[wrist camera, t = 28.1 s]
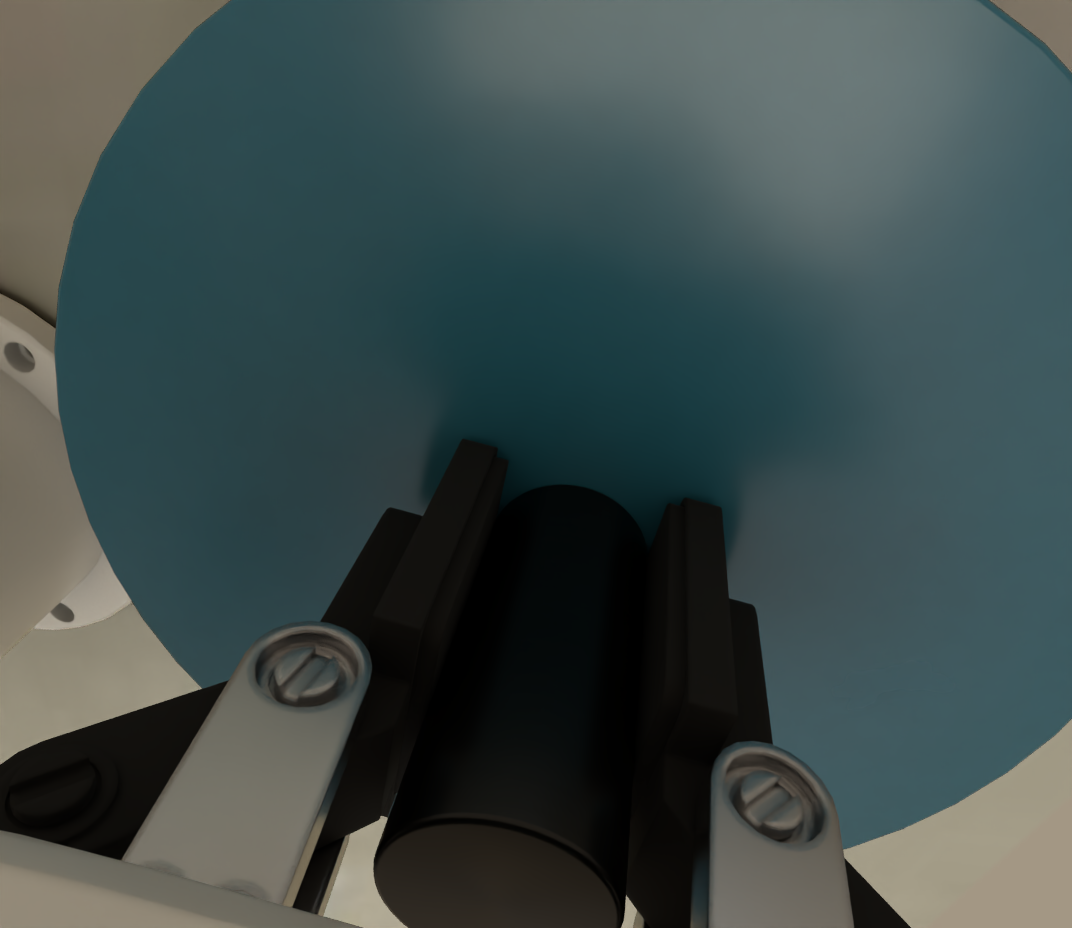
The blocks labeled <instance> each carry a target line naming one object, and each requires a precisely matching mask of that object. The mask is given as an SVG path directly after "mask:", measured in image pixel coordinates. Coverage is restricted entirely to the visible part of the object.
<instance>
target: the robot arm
mask: <svg viewBox="0 0 1072 928" xmlns="http://www.w3.org/2000/svg"><path fill="white" fill-rule="evenodd" d="M55 331H56V329H55V328H54V327H52V326H51V325H50V324H48V323H47V322H45V321H44V320H43V319H41V318H40V317H38V316H37V315H36V314H34V313H33V312H31V311H30V310H29V309H27V308H26V307H24V306H23V305H21V304H19V303H17V302H15V301H13V300H12V299H10V298H8V297H6V296H4V295H2V294H0V660H1V659H2V658H3V657H4V656H5V655H6V654H7V653H8V652H9V651H10V650H11V649H12V648H13V647H14V646H15V645H16V644H17V643H18V642H19V641H20V640H21V639H22V638H23V637H24V636H25V635H26V634H27V633H29V632H30V631H31V630H32V629H45V630H61V629H70V628H78V627H85V626H88V625H90V624H93V623H96V622H99V621H102V620H105V619H108V618H109V617H111V616H112V615H114V614H115V613H117V612H118V611H120V610H121V609H123V608H124V607H126V606H127V605H129V604H130V603H131V602H132V601H131V599H130V598H129V596H128V595H127V593H126V591H125V590H124V588H123V587H122V585H121V584H120V582H119V580H118V579H117V577H116V576H115V574H114V572H113V570H112V568H111V566H110V564H109V562H108V560H107V558H106V556H105V554H104V552H103V550H102V548H101V546H100V543H99V541H98V539H97V537H96V535H95V533H94V531H93V529H92V527H91V525H90V523H89V520H88V517H87V514H86V511H85V509H84V506H83V503H82V500H81V497H80V494H79V491H78V488H77V486H76V483H75V480H74V477H73V474H72V471H71V468H70V463H69V458H68V454H67V449H66V444H65V440H64V435H63V430H62V425H61V421H60V416H59V411H58V397H57V384H56V370H55V356H54V345H55ZM497 451H498V448H497V447H493V446H490V445H486V444H482V443H478V442H474V441H471V440H467V439H462V440H461V442H460V444H459V446H458V448H457V450H456V452H455V454H454V456H453V458H452V460H451V461H450V463H449V465H448V467H447V469H446V471H445V473H444V475H443V477H442V479H441V481H440V483H439V485H438V487H437V489H436V491H435V493H434V495H433V497H432V499H431V501H430V503H429V505H428V507H427V509H426V511H425V513H424V515H423V516H421V515H418V514H414V513H410V512H407V511H403V510H399V509H395V508H392V507H390V508H388V509H387V510H386V511H385V512H384V514H383V515H382V517H381V519H380V520H379V522H378V524H377V525H376V527H375V529H374V530H373V532H372V534H371V536H370V537H369V539H368V541H367V542H366V544H365V546H364V548H363V549H362V551H361V553H360V554H359V556H358V558H357V559H356V561H355V563H354V565H353V566H352V568H351V570H350V571H349V573H348V575H347V577H346V578H345V580H344V582H343V583H342V585H341V587H340V588H339V590H338V592H337V594H336V595H335V597H334V599H333V600H332V602H331V604H330V606H329V607H328V609H327V611H326V612H325V614H324V616H323V617H322V619H321V621H320V622H318V621H302V622H292V623H288V624H286V625H283V626H280V627H277V628H274V629H272V630H270V631H269V632H267V633H265V634H264V635H262V636H261V637H259V638H258V639H257V640H256V641H255V642H254V643H253V644H252V645H251V647H250V648H249V649H248V650H247V651H246V652H245V654H244V656H243V657H242V659H241V661H240V662H239V664H238V666H237V667H236V669H235V671H234V672H233V674H232V676H231V677H230V679H229V680H228V681H225V682H222V683H219V684H216V685H213V686H209V687H206V688H203V689H200V690H197V691H194V692H191V693H188V694H185V695H182V696H179V697H176V698H173V699H170V700H167V701H164V702H161V703H158V704H155V705H152V706H149V707H146V708H143V709H139V710H136V711H133V712H130V713H127V714H124V715H121V716H118V717H115V718H112V719H109V720H106V721H103V722H100V723H97V724H94V725H91V726H88V727H85V728H82V729H79V730H76V731H73V732H70V733H66V734H63V735H60V736H57V737H54V738H51V739H48V740H45V741H42V742H40V743H38V744H36V745H33V746H31V747H29V748H26V749H24V750H22V751H20V752H18V753H16V754H15V755H13V756H12V757H11V758H9V759H8V760H6V761H5V762H4V763H2V764H1V765H0V928H362V927H359V926H355V925H352V924H348V923H345V922H341V921H337V920H334V919H330V918H327V917H323V915H324V912H325V909H326V906H327V903H328V901H329V898H330V895H331V892H332V889H333V886H334V883H335V880H336V877H337V874H338V871H339V868H340V866H341V863H342V860H343V857H344V854H345V851H346V848H347V845H348V842H349V836H350V834H351V833H353V832H355V831H357V830H359V829H361V828H363V827H365V826H367V825H369V824H371V823H373V822H375V821H377V820H379V819H380V816H384V817H388V816H389V813H390V811H391V808H392V805H393V802H394V799H395V797H396V794H397V792H398V789H399V787H400V784H401V781H402V778H403V776H404V773H405V770H406V767H407V765H408V762H409V759H410V756H411V753H412V751H413V748H414V745H415V742H416V740H417V737H418V734H419V731H420V728H421V726H422V723H423V720H424V718H425V716H426V714H427V711H428V708H429V706H430V703H431V700H432V697H433V695H434V692H435V689H436V686H437V683H438V681H439V678H440V675H441V672H442V669H443V667H444V664H445V661H446V658H447V656H448V653H449V650H450V647H451V644H452V642H453V639H454V636H455V633H456V631H457V628H458V625H459V622H460V619H461V617H462V614H463V611H464V608H465V606H466V603H467V600H468V597H469V594H470V592H471V589H472V586H473V583H474V581H475V578H476V575H477V572H478V569H479V567H480V564H481V561H482V558H483V555H484V553H485V550H486V547H487V544H488V542H489V539H490V536H491V533H492V530H493V528H494V525H495V522H496V518H497V513H498V509H499V504H500V500H501V495H502V491H503V486H504V482H505V478H506V473H507V468H508V463H509V460H505V459H502V458H498V457H497ZM626 895H627V897H628V898H629V899H630V901H631V902H632V903H633V905H634V906H635V908H636V909H637V913H636V916H635V920H634V925H633V928H911V927H910V926H909V925H908V924H907V923H906V922H905V921H904V920H903V919H902V918H901V917H900V916H899V915H898V914H897V913H896V912H895V910H894V909H893V908H892V907H891V906H890V905H889V904H888V903H887V902H886V901H885V900H884V899H883V898H882V897H881V896H880V895H879V894H878V893H877V892H876V891H875V890H874V889H873V887H872V886H871V885H870V884H869V883H868V882H867V881H866V880H865V879H864V878H863V877H862V876H861V875H860V874H859V873H858V872H857V871H856V870H855V869H854V868H853V867H852V865H851V864H850V863H849V862H848V861H847V860H846V859H845V858H844V853H843V846H842V839H841V832H840V825H839V818H838V813H837V810H836V807H835V804H834V800H833V797H832V796H831V794H830V792H829V791H828V789H827V787H826V786H825V784H824V783H823V781H822V780H821V778H820V777H819V776H818V775H817V774H816V773H815V772H814V771H813V770H812V769H811V768H810V767H809V766H808V765H807V764H806V763H804V762H803V761H802V760H800V759H799V758H797V757H796V756H795V755H793V754H792V753H790V752H788V751H786V750H784V749H781V748H779V747H777V746H775V745H773V740H772V732H771V724H770V716H769V708H768V699H767V691H766V683H765V675H764V667H763V659H762V650H761V642H760V634H759V626H758V618H757V613H756V609H755V607H754V606H753V605H752V604H749V603H745V602H741V601H738V600H734V599H730V598H729V592H728V579H727V566H726V553H725V541H724V528H723V515H722V508H721V507H720V506H716V505H712V504H708V503H705V502H701V501H697V500H693V499H690V498H686V497H685V498H684V499H683V500H682V502H681V504H680V506H679V505H675V504H671V503H668V504H667V506H666V508H665V511H664V514H663V516H662V519H661V522H660V524H659V527H658V530H657V533H656V535H655V538H654V541H653V544H652V546H651V549H650V552H649V554H648V557H647V563H646V579H645V595H644V611H643V627H642V643H641V659H640V675H639V691H638V707H637V723H636V739H635V755H634V771H633V787H632V804H631V820H630V836H629V852H628V868H627V884H626Z"/></svg>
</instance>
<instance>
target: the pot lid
mask: <svg viewBox="0 0 1072 928" xmlns="http://www.w3.org/2000/svg"><path fill="white" fill-rule="evenodd" d="M54 356H55V370H56V384H57V397H58V411H59V416H60V421H61V425H62V430H63V435H64V440H65V444H66V449H67V454H68V458H69V463H70V468H71V471H72V474H73V477H74V480H75V483H76V486H77V488H78V491H79V494H80V497H81V500H82V503H83V506H84V509H85V511H86V514H87V517H88V520H89V523H90V525H91V527H92V529H93V531H94V533H95V535H96V537H97V539H98V541H99V543H100V546H101V548H102V550H103V552H104V554H105V556H106V558H107V560H108V562H109V564H110V566H111V568H112V570H113V572H114V574H115V576H116V577H117V579H118V580H119V582H120V584H121V585H122V587H123V588H124V590H125V591H126V593H127V595H128V596H129V598H130V599H131V601H132V603H133V604H134V606H135V607H136V609H137V610H138V612H139V614H140V615H141V617H142V618H143V620H144V621H145V622H146V624H147V625H148V626H149V627H150V629H151V630H152V631H153V633H154V634H155V635H156V636H157V638H158V639H159V640H160V641H161V643H162V644H163V645H164V647H165V648H166V649H167V650H168V652H169V653H170V654H171V656H172V657H173V658H174V659H175V661H176V662H177V663H178V664H179V665H180V666H181V667H182V668H183V669H184V670H185V671H186V672H187V673H188V674H189V675H190V676H191V678H192V679H193V680H194V681H195V682H196V683H197V684H198V685H199V686H200V687H201V688H202V689H203V688H206V687H209V686H213V685H216V684H219V683H222V682H225V681H228V680H229V679H230V677H231V676H232V674H233V672H234V671H235V669H236V667H237V666H238V664H239V662H240V661H241V659H242V657H243V656H244V654H245V652H246V651H247V650H248V649H249V648H250V647H251V645H252V644H253V643H254V642H255V641H256V640H257V639H258V638H259V637H261V636H262V635H264V634H265V633H267V632H269V631H270V630H272V629H274V628H277V627H280V626H283V625H286V624H288V623H292V622H302V621H318V622H320V621H321V619H322V617H323V616H324V614H325V612H326V611H327V609H328V607H329V606H330V604H331V602H332V600H333V599H334V597H335V595H336V594H337V592H338V590H339V588H340V587H341V585H342V583H343V582H344V580H345V578H346V577H347V575H348V573H349V571H350V570H351V568H352V566H353V565H354V563H355V561H356V559H357V558H358V556H359V554H360V553H361V551H362V549H363V548H364V546H365V544H366V542H367V541H368V539H369V537H370V536H371V534H372V532H373V530H374V529H375V527H376V525H377V524H378V522H379V520H380V519H381V517H382V515H383V514H384V512H385V511H386V510H387V509H388V508H390V507H392V508H395V509H399V510H403V511H407V512H410V513H414V514H418V515H421V516H423V515H424V513H425V511H426V509H427V507H428V505H429V503H430V501H431V499H432V497H433V495H434V493H435V491H436V489H437V487H438V485H439V483H440V481H441V479H442V477H443V475H444V473H445V471H446V469H447V467H448V465H449V463H450V461H451V460H452V458H453V456H454V454H455V452H456V450H457V448H458V446H459V444H460V442H461V440H462V439H467V440H471V441H474V442H478V443H482V444H486V445H490V446H493V447H497V448H498V451H497V457H498V458H502V459H505V460H509V463H508V468H507V473H506V478H505V482H504V486H503V491H502V495H501V500H500V504H499V509H498V513H497V518H496V522H495V525H494V528H493V530H492V533H491V536H490V539H489V542H488V544H487V547H486V550H485V553H484V555H483V558H482V561H481V564H480V567H479V569H478V572H477V575H476V578H475V581H474V583H473V586H472V589H471V592H470V594H469V597H468V600H467V603H466V606H465V608H464V611H463V614H462V617H461V619H460V622H459V625H458V628H457V631H456V633H455V636H454V639H453V642H452V644H451V647H450V650H449V653H448V656H447V658H446V661H445V664H444V667H443V669H442V672H441V675H440V678H439V681H438V683H437V686H436V689H435V692H434V695H433V697H432V700H431V703H430V706H429V708H428V711H427V714H426V716H425V718H424V720H423V723H422V726H421V728H420V731H419V734H418V737H417V740H416V742H415V745H414V748H413V751H412V753H411V756H410V759H409V762H408V765H407V767H406V770H405V773H404V776H403V778H402V781H401V784H400V787H399V789H398V792H397V794H396V797H395V799H394V802H393V805H392V808H391V811H390V813H389V816H388V820H387V823H386V825H385V828H384V831H383V834H382V837H381V839H380V842H379V845H378V848H377V850H376V854H375V857H374V867H373V870H374V879H375V884H376V887H377V890H378V892H379V895H380V896H381V898H382V900H383V902H384V903H385V905H386V906H387V907H388V908H389V910H390V911H391V912H392V913H393V914H394V915H395V916H396V917H397V918H398V919H399V920H400V921H401V922H402V923H403V924H404V925H405V926H407V927H408V928H621V926H622V923H623V921H624V913H625V900H626V884H627V868H628V852H629V836H630V820H631V804H632V787H633V771H634V755H635V739H636V723H637V707H638V691H639V675H640V659H641V643H642V627H643V611H644V595H645V579H646V563H647V557H648V554H649V552H650V549H651V546H652V544H653V541H654V538H655V535H656V533H657V530H658V527H659V524H660V522H661V519H662V516H663V514H664V511H665V508H666V506H667V504H668V503H671V504H675V505H679V506H680V504H681V502H682V500H683V499H684V498H685V497H686V498H690V499H693V500H697V501H701V502H705V503H708V504H712V505H716V506H720V507H721V508H722V515H723V528H724V541H725V553H726V566H727V579H728V592H729V598H730V599H734V600H738V601H741V602H745V603H749V604H752V605H753V606H754V607H755V609H756V613H757V618H758V626H759V634H760V642H761V650H762V659H763V667H764V675H765V683H766V691H767V699H768V708H769V716H770V724H771V732H772V740H773V745H775V746H777V747H779V748H781V749H784V750H786V751H788V752H790V753H792V754H793V755H795V756H796V757H797V758H799V759H800V760H802V761H803V762H804V763H806V764H807V765H808V766H809V767H810V768H811V769H812V770H813V771H814V772H815V773H816V774H817V775H818V776H819V777H820V778H821V780H822V781H823V783H824V784H825V786H826V787H827V789H828V791H829V792H830V794H831V796H832V797H833V800H834V804H835V807H836V810H837V813H838V818H839V825H840V832H841V839H842V846H843V849H847V848H851V847H854V846H856V845H859V844H862V843H865V842H868V841H870V840H873V839H876V838H879V837H882V836H884V835H887V834H890V833H893V832H896V831H898V830H901V829H904V828H906V827H908V826H910V825H912V824H914V823H917V822H919V821H921V820H923V819H925V818H927V817H929V816H931V815H934V814H936V813H938V812H940V811H942V810H944V809H946V808H948V807H950V806H953V805H955V804H957V803H958V802H960V801H962V800H963V799H965V798H966V797H968V796H970V795H971V794H973V793H975V792H976V791H978V790H980V789H981V788H983V787H985V786H986V785H988V784H989V783H991V782H993V781H994V780H996V779H998V778H999V777H1001V776H1003V775H1004V774H1006V773H1007V772H1009V771H1010V770H1011V769H1013V768H1014V767H1015V766H1016V765H1018V764H1019V763H1020V762H1022V761H1023V760H1024V759H1025V758H1027V757H1028V756H1029V755H1031V754H1032V753H1033V752H1034V751H1036V750H1037V749H1038V748H1040V747H1041V746H1042V745H1043V744H1045V743H1046V742H1047V741H1049V740H1050V739H1051V738H1052V737H1054V736H1055V735H1056V734H1057V733H1058V732H1059V731H1060V730H1061V729H1062V728H1063V727H1064V726H1065V725H1066V724H1067V723H1068V722H1069V721H1070V720H1071V719H1072V73H1071V71H1070V70H1069V69H1068V68H1067V67H1066V66H1065V65H1064V64H1063V63H1062V62H1061V60H1060V59H1059V58H1058V57H1057V56H1056V55H1055V54H1054V53H1053V52H1052V50H1051V49H1050V48H1049V47H1048V46H1047V45H1046V44H1045V43H1044V42H1043V41H1041V40H1040V39H1039V38H1038V37H1036V36H1035V35H1034V34H1032V33H1031V32H1030V31H1029V30H1027V29H1026V28H1025V27H1023V26H1022V25H1021V24H1019V23H1018V22H1017V21H1016V20H1014V19H1013V18H1012V17H1010V16H1009V15H1008V14H1007V13H1005V12H1004V11H1003V10H1001V9H1000V8H999V7H997V6H996V5H995V4H994V3H992V2H991V1H990V0H230V1H229V2H228V3H226V4H225V5H224V6H223V7H221V8H220V9H219V10H218V11H216V12H215V13H214V14H213V15H211V16H210V17H209V18H208V19H206V20H205V21H204V22H203V23H201V24H200V25H199V26H198V27H196V28H195V29H194V30H193V32H192V33H191V34H190V35H189V36H188V37H187V38H186V39H185V41H184V42H183V43H182V44H181V45H180V46H179V47H178V49H177V50H176V51H175V52H174V53H173V54H172V55H171V56H170V58H169V59H168V60H167V61H166V62H165V63H164V64H163V66H162V67H161V68H160V69H159V70H158V71H157V72H156V73H155V75H154V76H153V77H152V78H151V79H150V80H149V81H148V83H147V84H146V85H145V86H144V87H143V88H142V89H141V91H140V93H139V94H138V96H137V97H136V99H135V101H134V102H133V104H132V105H131V107H130V109H129V110H128V112H127V114H126V115H125V117H124V118H123V120H122V122H121V123H120V125H119V127H118V128H117V130H116V131H115V133H114V135H113V136H112V138H111V139H110V141H109V143H108V144H107V146H106V148H105V149H104V151H103V152H102V154H101V156H100V158H99V161H98V163H97V166H96V168H95V170H94V173H93V175H92V178H91V180H90V183H89V185H88V188H87V190H86V193H85V195H84V197H83V200H82V202H81V205H80V207H79V210H78V212H77V215H76V217H75V220H74V222H73V227H72V231H71V235H70V240H69V244H68V248H67V253H66V257H65V261H64V266H63V270H62V275H61V279H60V283H59V289H58V303H57V317H56V331H55V345H54Z"/></svg>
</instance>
